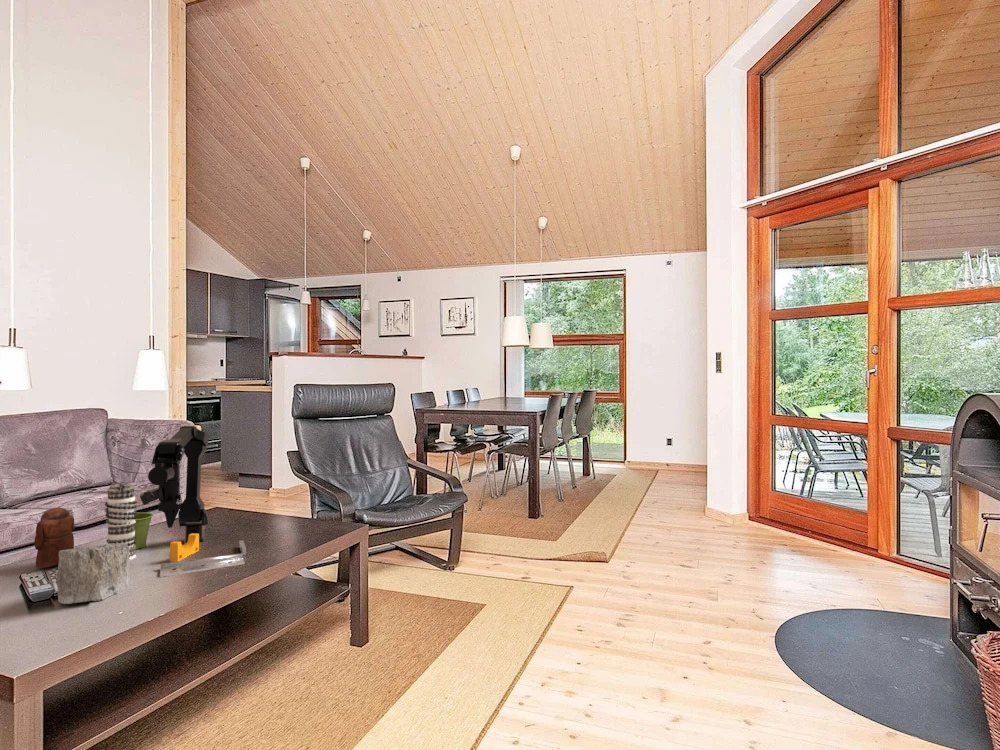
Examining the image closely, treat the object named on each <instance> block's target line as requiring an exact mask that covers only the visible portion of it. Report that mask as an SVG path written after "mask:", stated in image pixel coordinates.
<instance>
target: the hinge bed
mask: <svg viewBox="0 0 1000 750" xmlns="http://www.w3.org/2000/svg"><path fill="white" fill-rule="evenodd" d="M238 547H239V551H240V553H235V554H225V555H218V556H212V557H211V556H210V557H202V558H201V557H200V558H194V559H187V560H180V561H178V562H170V561H169V562H164V563H163V562H162V563H160V569H159V570H160V571H159V572H160V573H159V577H160V578H163V577H164V576H165V577H171V576H172V577H173V576H178V574H179V575H185V574H191V573H196V572H197V571H198V572H203V571H208V570H217V569H221V568H228V567H236V566H240V565H246V564H245V563H246V562H245V560H244V556H247V547H246V544H245V542H244V540H243V539H242V540H239V545H238Z"/></svg>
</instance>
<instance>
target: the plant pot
mask: <svg viewBox="0 0 1000 750" xmlns="http://www.w3.org/2000/svg"><path fill="white" fill-rule="evenodd" d="M134 516H136V518H135V519H134V520H135V521H136V523H134V530H135V536H136V538H135V539H134V540H135V541H136V543H135V544H134V545H135V546H136V549H135V550H136V551H137V550H138V549H140V548H141V549H143V548H144V547H146V545H147V539H148V535H149V528H150V523H151V521H152V517H153V516H154V513H152V512H136V514H135V515H134Z"/></svg>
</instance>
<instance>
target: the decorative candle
mask: <svg viewBox="0 0 1000 750" xmlns="http://www.w3.org/2000/svg"><path fill="white" fill-rule="evenodd" d="M135 488H136V487H135V486H133V485H132V484H131V483H130V482H119V483H113V484H111V485H110V486H109V488H107V489H106V491H107V499H106V502H104V506H105V507H106V508H105V517H106V519H105V523H106V527H107V532H108V533H107V538H106V540H105V541H106V543H107V544H110V545H118V544H127V545H128V549H129V561H131V560H134V559H135V558H136V557H137V555H136V554H137V549H136V546H135V545H134V544H135V543H136V541H135V540H134V539H135V538H136V536H135V530H134V523H136V521H135V520H134V519H135V518H136V516H134V515H135V514H136V513H137V511H136V510H135V509H136V508H138V505H136V504H137V503H138V502H137V500H136V496H135ZM135 549H136V550H135Z"/></svg>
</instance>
